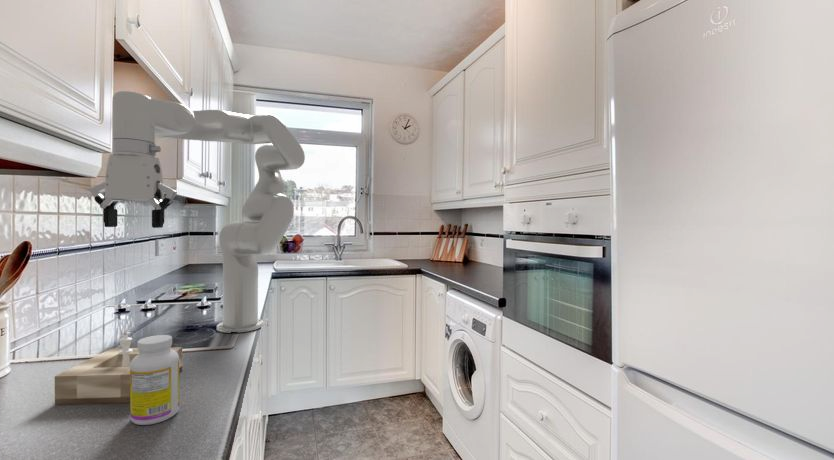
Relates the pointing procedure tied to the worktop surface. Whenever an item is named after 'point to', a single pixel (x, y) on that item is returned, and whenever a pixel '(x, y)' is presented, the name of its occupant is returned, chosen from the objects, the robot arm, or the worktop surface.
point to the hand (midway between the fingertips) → (134, 227)
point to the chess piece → (125, 348)
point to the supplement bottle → (154, 381)
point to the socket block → (98, 379)
